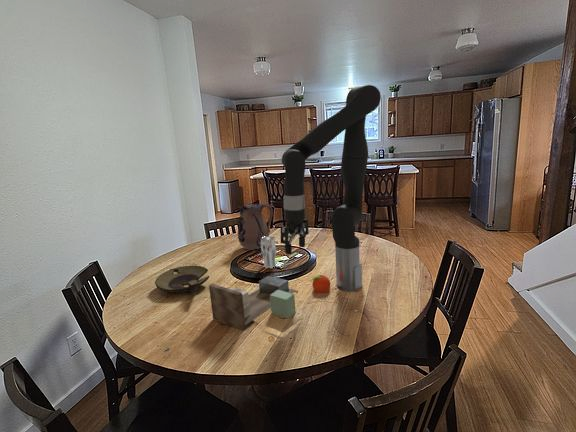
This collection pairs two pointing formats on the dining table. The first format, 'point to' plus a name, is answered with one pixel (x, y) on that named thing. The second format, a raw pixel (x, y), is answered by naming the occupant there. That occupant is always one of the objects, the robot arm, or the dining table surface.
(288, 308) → the pale green chunky prism
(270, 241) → the beer glass
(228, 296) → the book shelf
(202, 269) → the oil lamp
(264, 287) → the dark gray rectangular block
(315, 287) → the tomato
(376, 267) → the dining table surface
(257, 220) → the ceramic pitcher
